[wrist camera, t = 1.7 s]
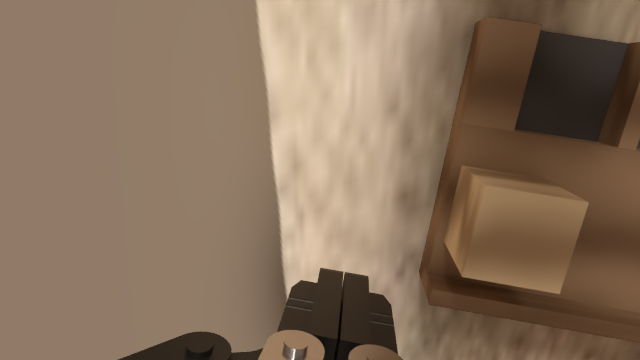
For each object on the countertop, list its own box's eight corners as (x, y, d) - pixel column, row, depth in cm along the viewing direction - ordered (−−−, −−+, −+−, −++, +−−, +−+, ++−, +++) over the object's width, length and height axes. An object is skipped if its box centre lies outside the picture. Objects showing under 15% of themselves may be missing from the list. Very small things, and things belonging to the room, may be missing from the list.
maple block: (461, 165, 25) (485, 185, 21) (545, 178, 25) (589, 202, 20) (443, 241, 27) (462, 276, 22) (522, 254, 26) (559, 294, 22)
